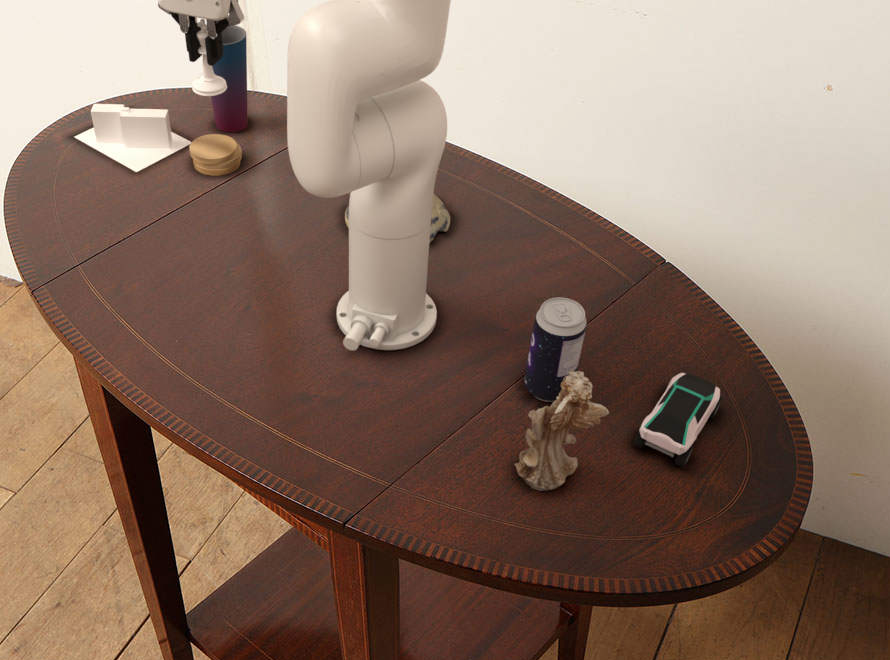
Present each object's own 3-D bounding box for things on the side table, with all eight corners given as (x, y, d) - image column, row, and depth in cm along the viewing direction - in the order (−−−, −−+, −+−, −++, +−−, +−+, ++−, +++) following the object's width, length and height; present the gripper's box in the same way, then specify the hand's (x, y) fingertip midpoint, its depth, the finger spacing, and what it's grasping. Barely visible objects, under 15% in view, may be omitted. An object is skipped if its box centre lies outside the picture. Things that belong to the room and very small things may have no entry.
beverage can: (563, 370, 118) (579, 292, 110) (577, 403, 114) (596, 325, 106) (517, 375, 118) (530, 297, 109) (530, 408, 114) (545, 331, 105)
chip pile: (228, 181, 145) (226, 163, 143) (183, 170, 147) (180, 152, 145) (250, 155, 150) (248, 138, 148) (206, 145, 152) (204, 128, 150)
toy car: (629, 451, 109) (639, 418, 106) (670, 388, 117) (681, 355, 113) (679, 474, 107) (691, 441, 103) (718, 409, 114) (731, 376, 111)
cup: (234, 140, 154) (226, 48, 143) (201, 127, 156) (190, 36, 146) (262, 121, 158) (255, 31, 147) (228, 109, 160) (220, 19, 150)
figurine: (566, 448, 109) (590, 349, 99) (589, 489, 105) (616, 390, 95) (504, 461, 108) (521, 362, 97) (525, 503, 104) (545, 404, 93)
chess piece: (209, 100, 138) (202, 31, 131) (184, 88, 140) (176, 20, 133) (234, 86, 141) (228, 18, 134) (209, 75, 143) (202, 8, 136)
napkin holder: (193, 142, 153) (189, 108, 149) (137, 172, 146) (131, 138, 142) (129, 109, 159) (123, 76, 155) (72, 137, 153) (65, 103, 149)
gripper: (119, -78, 123) (141, 60, 136) (235, -58, 120) (246, 82, 133) (150, -98, 128) (168, 38, 141) (261, -79, 125) (269, 58, 138)
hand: (206, 58), depth 137 cm, fingers closed on chess piece
